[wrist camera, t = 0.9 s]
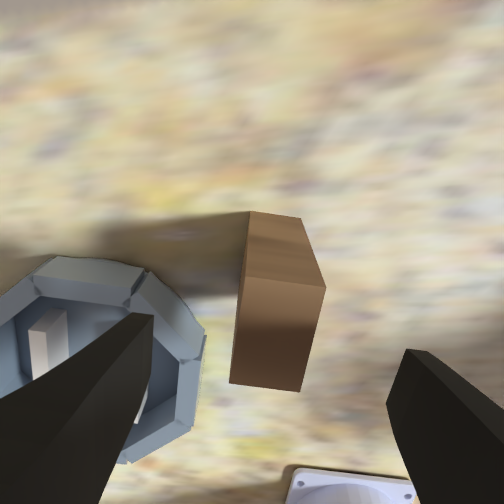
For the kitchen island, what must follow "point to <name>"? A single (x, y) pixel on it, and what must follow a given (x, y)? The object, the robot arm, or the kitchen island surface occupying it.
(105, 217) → the kitchen island surface
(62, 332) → the blue-grey octagonal tray
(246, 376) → the wooden rectangular block
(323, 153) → the kitchen island surface
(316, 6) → the kitchen island surface
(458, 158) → the kitchen island surface
